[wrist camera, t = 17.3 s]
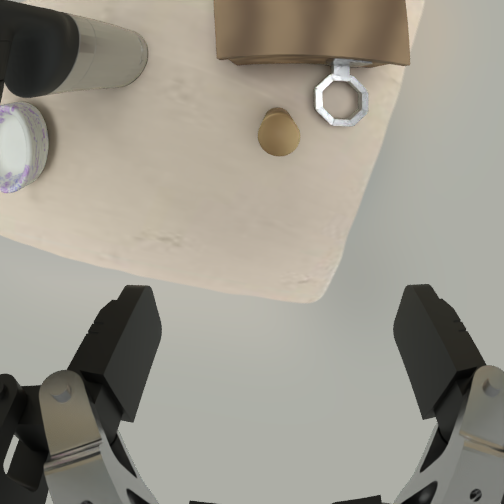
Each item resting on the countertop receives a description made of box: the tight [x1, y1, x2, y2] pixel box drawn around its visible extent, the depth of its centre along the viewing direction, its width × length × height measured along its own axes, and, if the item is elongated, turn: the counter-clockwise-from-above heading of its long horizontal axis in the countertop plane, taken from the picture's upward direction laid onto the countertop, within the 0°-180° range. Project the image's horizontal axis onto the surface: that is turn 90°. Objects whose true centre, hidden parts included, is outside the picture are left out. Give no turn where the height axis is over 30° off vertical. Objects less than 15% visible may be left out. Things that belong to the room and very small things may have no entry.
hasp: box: [314, 58, 372, 126], centre depth 31 cm, size 7×8×8 cm
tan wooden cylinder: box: [258, 108, 300, 156], centre depth 32 cm, size 4×4×16 cm
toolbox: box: [214, 0, 410, 68], centre depth 25 cm, size 19×15×14 cm
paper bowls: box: [0, 102, 49, 193], centre depth 38 cm, size 15×15×8 cm
